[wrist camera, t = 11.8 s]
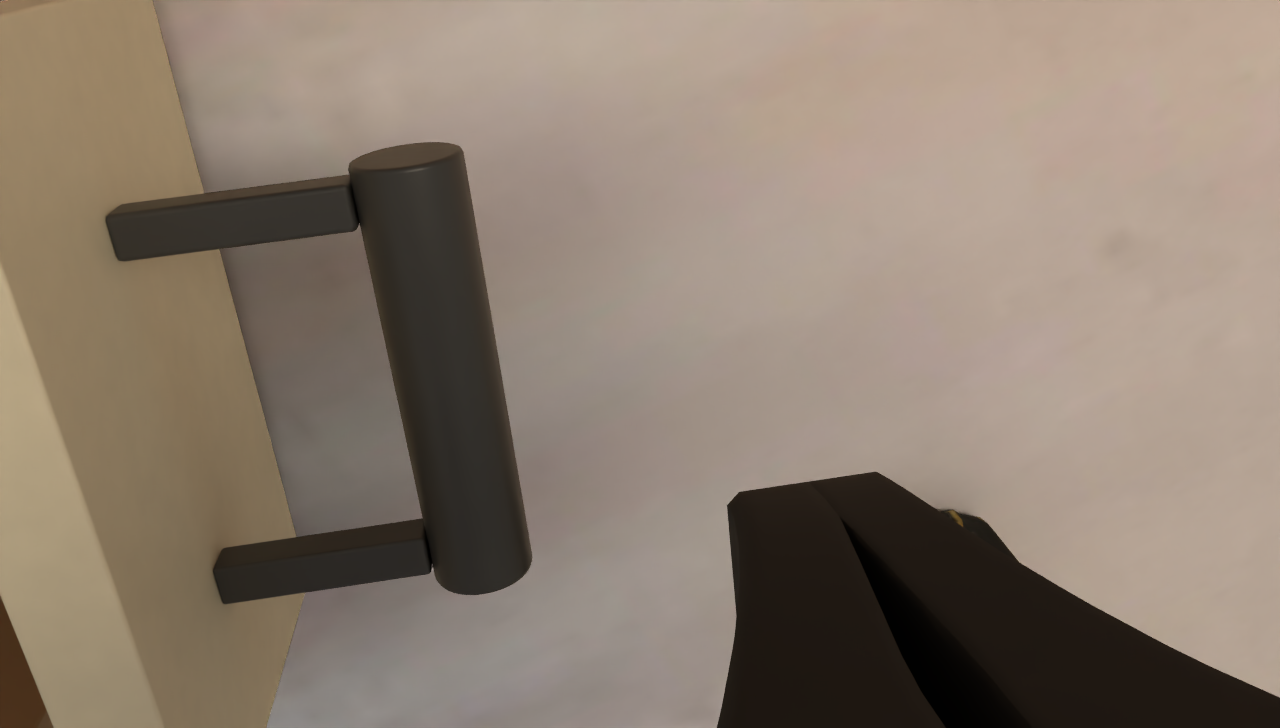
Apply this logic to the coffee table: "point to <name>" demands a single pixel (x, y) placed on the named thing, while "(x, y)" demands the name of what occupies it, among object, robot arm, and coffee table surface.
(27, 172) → the drawer
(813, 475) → the coffee table surface
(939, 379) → the coffee table surface
